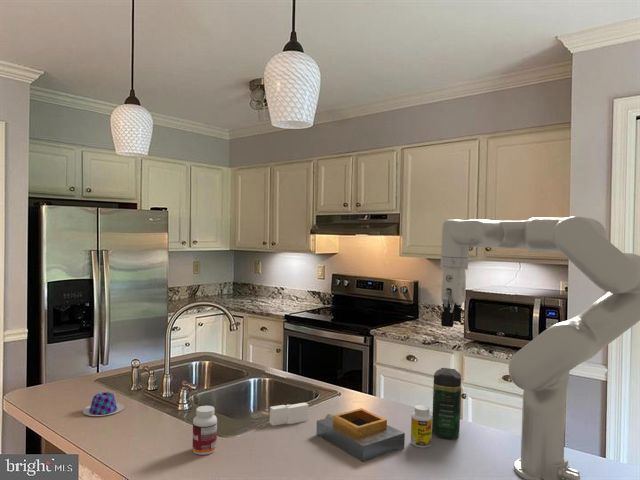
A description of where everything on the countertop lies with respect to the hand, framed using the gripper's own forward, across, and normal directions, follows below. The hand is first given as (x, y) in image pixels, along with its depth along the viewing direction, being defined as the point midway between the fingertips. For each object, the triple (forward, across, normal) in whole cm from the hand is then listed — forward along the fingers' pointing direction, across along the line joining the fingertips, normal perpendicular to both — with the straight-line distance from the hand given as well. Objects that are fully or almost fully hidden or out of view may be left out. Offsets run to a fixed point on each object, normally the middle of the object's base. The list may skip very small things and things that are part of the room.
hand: (451, 323), depth 136 cm
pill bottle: (+34, -41, +53) cm, 75 cm away
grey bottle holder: (+33, -14, +22) cm, 42 cm away
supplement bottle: (+33, -7, +5) cm, 34 cm away
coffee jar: (+33, +4, +1) cm, 34 cm away
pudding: (+36, -36, +99) cm, 111 cm away
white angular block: (+35, -13, +45) cm, 58 cm away
